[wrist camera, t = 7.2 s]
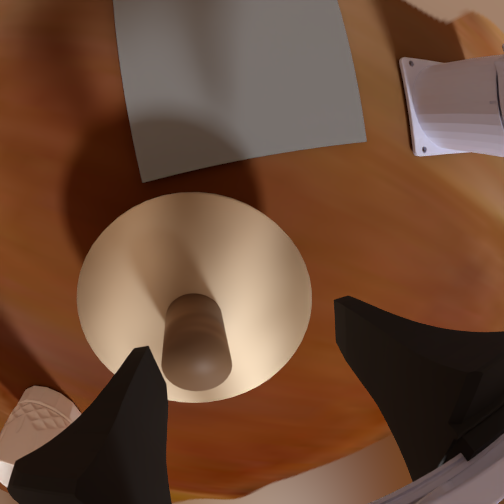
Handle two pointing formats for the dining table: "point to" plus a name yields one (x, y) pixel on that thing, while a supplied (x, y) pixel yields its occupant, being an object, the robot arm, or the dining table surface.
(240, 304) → the lid
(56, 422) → the white cup
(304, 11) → the mat
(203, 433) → the dining table surface
